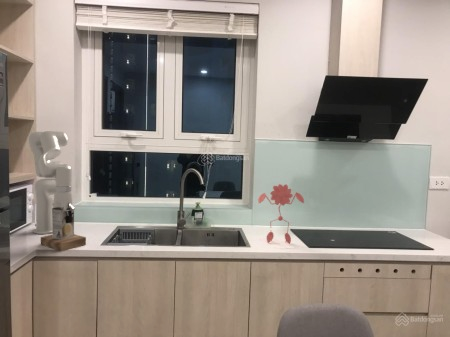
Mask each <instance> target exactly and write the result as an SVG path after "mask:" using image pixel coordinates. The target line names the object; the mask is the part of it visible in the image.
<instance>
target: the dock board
mask: <svg viewBox="0 0 450 337" xmlns="http://www.w3.org/2000/svg"><path fill="white" fill-rule="evenodd" d="M86 237H87V236H83V235H79V234H76V233H74V235H73V236H71V237H68V238H66V239H63V240H61V239H53V237H52V234H47V235H44V236H40V246H45V247H46V248H50V249H54V250H57V251H60V252H65V251H67V250H70V249H74V248H75V249H76V248H78V247H81V246H85V245H87V242H86V241H87V238H86Z"/></svg>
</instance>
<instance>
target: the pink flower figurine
mask: <svg viewBox="0 0 450 337" xmlns="http://www.w3.org/2000/svg"><path fill="white" fill-rule="evenodd" d="M272 189H273V190H272V191H270V195H271V197H270V199H269V197H268V196H267V194H266V193H265V192H263V193H262V194H260V195H259V196H258V199H257V200H258V204H261V203H262V202H264V201H265V199H267V200H268V202H269V203H270V204H271V205H276V206H277V205H278V212H279V216H278V217H277V218H276V219H274V220H271V221H270V222H269V224H270V225H269V226H270V227H272V222H275V221H284V222H287V228H289V226H290V222H289V221H287V220H286V219H284V217H283V216H282V214H281V211H280V210H281V209H280V208H281V206H285V204H286V205H292V204H293V202H294V200H295V197H296V199H297V200H298V202H300V203H302V204H305V200H304V197H303V195H301V194H300V193H299V192H297V191H295V194H294V195H293V194H292V189H291V188H289V186H288V184H286V183H285V184H284V185H283V184H280V183H279V184H278V185H273V186H272ZM291 198H292V199H291ZM271 201H274V202H273V203H272V202H271ZM274 236H275V235H274V232H273V231H270V232H268V233H267V235H266V242H267V244H269V243H270V242H272V241H273V239H274V238H275V237H274ZM284 239H285V242H286V243H288V244H289V245H290V244H291V243H292V242H291V241H292V238H291V235H290V234H289V229H287V230H286V232H285V234H284ZM260 241H261V238H260Z"/></svg>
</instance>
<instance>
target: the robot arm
mask: <svg viewBox="0 0 450 337" xmlns="http://www.w3.org/2000/svg"><path fill="white" fill-rule="evenodd" d="M68 138H69V137H68V135H67V133H65V132H64V131H50V130H49V131H33V132H31V133H29V135H28V144H29V148H30V151H31V152H32V155H33V161H34V168H35V169H34V170H35V174H36V176H37V177H39V178H41V179H37V180H36V181H35V183H34V192H35V200H36V201H35V202H36V206H35V207H36V209H35V210H36V218H35V219H36V223H35V224H34V227H35V229H33V231H32V232H33V234H37V235H50V234H52V208H61V209H63V211H64V212H66V215H67V216H66V223H71V222H72V215H73V213H74V214H75V209H76V208H75V207H73V206H74V205H73V196H72V180H73V179H72V172H73V171H72V167H71V166H70V165H68V164H66V163H63V162H61V161H52V160H53V159H56V158H59V156H60V155H61V153H62V149H61V147H66V146H67V145H68V143H69V142H68V141H69V139H68ZM53 195H54V196H53ZM52 196H53V198H52ZM67 208H68V209H69V210H67ZM68 212H69V213H68Z"/></svg>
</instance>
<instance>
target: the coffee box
mask: <svg viewBox="0 0 450 337" xmlns="http://www.w3.org/2000/svg"><path fill="white" fill-rule="evenodd" d="M72 206H73V207H74V205H72ZM74 208H75V207H74ZM67 210H69V209H68V208H67ZM68 213H69V212H68ZM66 216H67V215H66V212H64V211H63V209H61V208H52V233H51V235H52V237H53V239H61V240H63V239H66V238H68V237H71V236H73V235H74V234H75V212H74V213H73V215H72V222H71V223H66Z"/></svg>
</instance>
